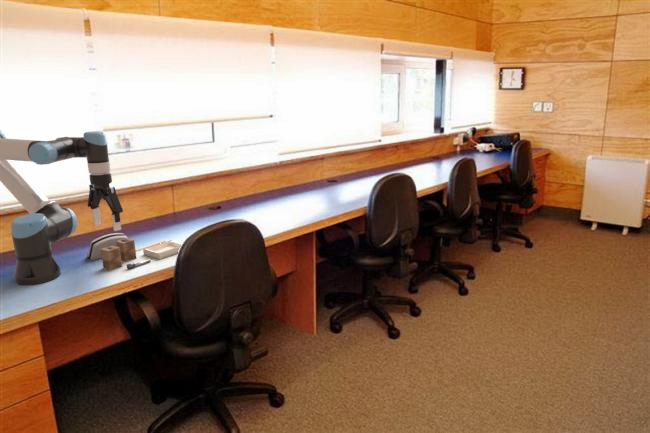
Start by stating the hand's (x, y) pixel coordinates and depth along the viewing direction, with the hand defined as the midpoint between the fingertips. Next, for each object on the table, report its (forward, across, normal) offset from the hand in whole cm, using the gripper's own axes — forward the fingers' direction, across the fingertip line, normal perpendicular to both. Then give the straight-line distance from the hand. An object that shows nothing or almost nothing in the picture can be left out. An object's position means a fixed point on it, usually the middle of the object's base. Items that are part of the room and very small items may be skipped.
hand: (107, 227), depth 195 cm
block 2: (+16, +4, -9) cm, 19 cm away
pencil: (+17, +10, -23) cm, 30 cm away
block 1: (+16, 0, 0) cm, 16 cm away
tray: (+16, -3, -23) cm, 28 cm away
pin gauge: (+16, -7, -8) cm, 20 cm away
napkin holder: (+17, +16, -8) cm, 24 cm away
